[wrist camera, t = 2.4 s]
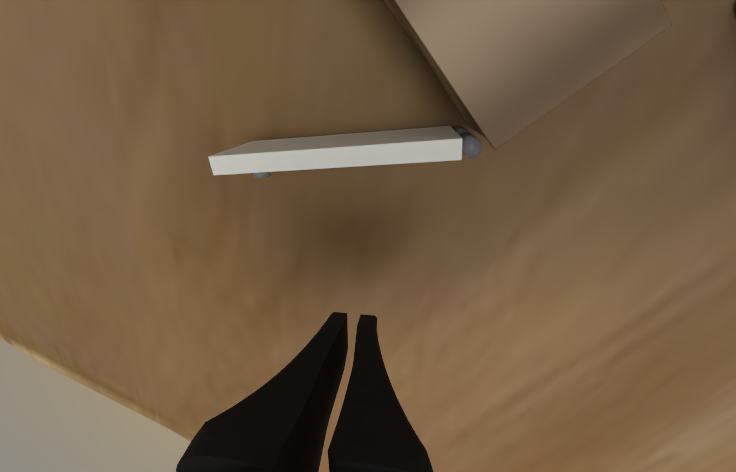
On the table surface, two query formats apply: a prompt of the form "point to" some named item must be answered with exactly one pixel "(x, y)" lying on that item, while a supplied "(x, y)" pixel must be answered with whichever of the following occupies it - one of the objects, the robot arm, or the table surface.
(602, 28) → the cabinet
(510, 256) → the table surface
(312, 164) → the door
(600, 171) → the table surface
